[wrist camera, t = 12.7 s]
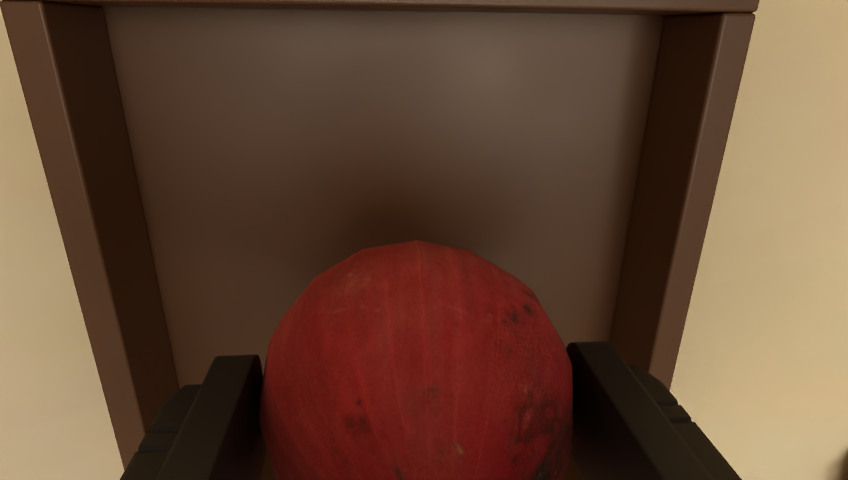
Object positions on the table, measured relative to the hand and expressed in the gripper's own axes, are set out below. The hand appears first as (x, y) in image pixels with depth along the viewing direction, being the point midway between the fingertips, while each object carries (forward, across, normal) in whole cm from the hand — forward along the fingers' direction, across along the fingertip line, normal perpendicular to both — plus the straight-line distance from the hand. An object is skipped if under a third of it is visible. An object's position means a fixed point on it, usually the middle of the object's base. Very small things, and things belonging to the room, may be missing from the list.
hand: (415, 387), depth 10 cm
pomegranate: (+4, 0, 0) cm, 4 cm away
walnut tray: (+6, 0, 0) cm, 6 cm away
